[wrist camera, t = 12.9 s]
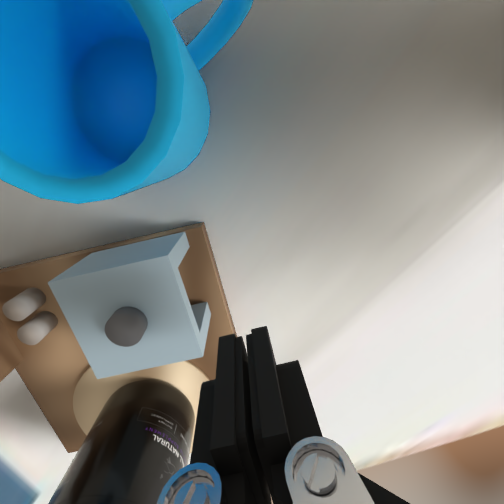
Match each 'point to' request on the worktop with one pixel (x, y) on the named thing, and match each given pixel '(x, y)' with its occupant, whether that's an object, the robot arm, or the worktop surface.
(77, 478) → the supplement bottle
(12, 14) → the mug
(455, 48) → the worktop surface
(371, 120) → the worktop surface
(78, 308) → the cover
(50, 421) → the board
